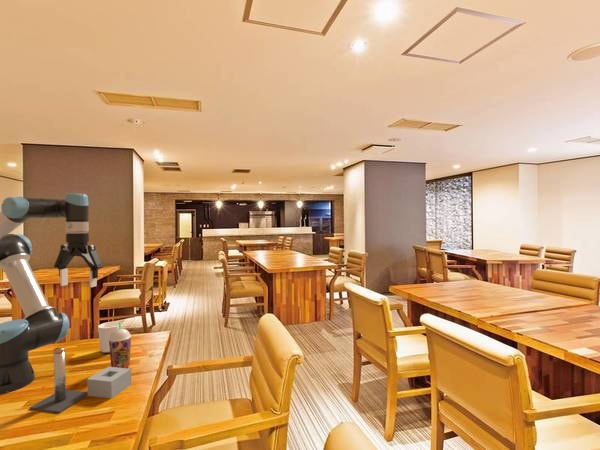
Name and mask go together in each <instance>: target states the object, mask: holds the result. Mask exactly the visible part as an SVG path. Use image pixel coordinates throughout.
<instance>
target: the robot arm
mask: <svg viewBox="0 0 600 450" xmlns="http://www.w3.org/2000/svg"><path fill="white" fill-rule="evenodd" d="M89 205H90V203H89V197H88V195H87V193H86V194H85V193H77V192H75V193H70V192H69V193H66V194H65V198H41V197H40V198H39V197H22V196H14V197H13V196H12V197H11V196H9V197H5V198H4V200H3V201H2V203H1V205H0V206H1V207H0V209H1V211H0V270H3V271H4V273H5V275H6V278H7V280H8V283H9V284H10V286H11V288H12V291H13V293H14V295H15V297H16V299H17V301H18V304H19V306H20V307H21V310H22V311H23V314H24V318H20V319H19V318H18V319H14V320H9V321H4V322H2V323H0V395H1V394H5V393H9V392H14V391H16V390H19V389H21V388H24V387H26V386H28V385H30V384H31V383H32V382H34V380H35V379H36V378H35V376H36V375H35V373H36V372H35V371H34V369H33V367H32V364H31V362H30V361H29V352H31V351H33V350H36V349H39V348H42V347H45V346H48V345H51V344H55V343H56V342H57V343H58V342H60V341H62V340H64V339H65V338H66V337H67V335H68V333H69V329H70V320H69V317H68V315H67V314H66V313H64V312H61V311H60V312H59V311H57V308H56V307H55V306H51V305H50V304H49V302H48V300H47V298H46V295H45V294H44V292H43V290H42V288H41V286H40V283H39V282H38V280H37V278H36V275H35V273H34V272H33V269H32V267H31V265H30V263H29V261H30V259H31V256H32V254H33V245H32V241H31V240H30V239H29V238H28V237H27V236H25V235H24V234H20V233H18V234H17V233H16V234H15V233H12V232H13V231H14V230H16V229H17V228H19V226H21V225H22V224H24V223H25V222H26V221H28V220H29V219H39V218H40V219H41V218H43V219H44V218H45V219H48V218H52V219H60V218H61V219H63V218H65V232H66V234H65V242H66V243H67V244H66V243H65V244H61V245H60V249H59V253H58V256H57V257H56V260H55V263H54V265H53V266H54V269H55V268H57V269H58V277H59V280H60V281H59V283H60V287H64V286H68V285H69V275H68V274H69V270H68V269H69V268H68V266H69V264H70V262H71V261H72V260H73V258H74V257H80V258H82V259H83V260H84V262H85V263H86V265H87V266H88V267H89V271H88V272H89V273H88V275H89V276H88V277H89V288H94V287H97V285H98V284H97V283H98V281H97V278H99V269H103V268H104V266H103V264H102V262H101V259H100V257H99V255H98V253H97V251H96V245H95V244H90V245H89V244H88V243H89V242H90V234H89V233H88V232H89V231H90V225H89V219H90V217H89Z"/></svg>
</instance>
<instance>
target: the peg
mask: <svg viewBox="0 0 600 450" xmlns="http://www.w3.org/2000/svg"><path fill="white" fill-rule="evenodd" d="M66 381H67V380H66V348H65V346H59V347H55V348H54V349H53V386H54V387H53V388H54V389H53V391H54V393H53V394H55V402H62V401H64V400H65V399H66V390H67V385H66V383H67V382H66Z"/></svg>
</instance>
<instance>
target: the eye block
mask: <svg viewBox="0 0 600 450" xmlns="http://www.w3.org/2000/svg"><path fill="white" fill-rule="evenodd" d="M86 381H87V382H86V383H87V384H86V385H87V386H86V387H87V388H86V389H87V391H86V392H87V394H88V396H89V397H95V398H97V397H98V398H106V399H113V398H115V397H116V396H117V395H119V394H120V393H121V392H123V391H124V390H125V389H127V388H129V386H132V368H128V369H127V368H117V367H111V366H107V367H105V368H104V369H102V370H100V371H98V372H97V373H95V374H94V375H92V376H90V377H88V378H87V379H86Z"/></svg>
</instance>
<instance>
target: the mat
mask: <svg viewBox="0 0 600 450" xmlns="http://www.w3.org/2000/svg"><path fill="white" fill-rule="evenodd" d="M87 396H88V394H87V391H81V390H71V389H66V399H65V400H64V401H62V402H55V394H54V393H53V394H51V395H49V396H47V397H45V398H44V399H42V400H40V401H38V402H36V403H35V404H33V405H31V406H29V410H33V411H41V412H46V413H47V412H48V413H55V414H61V413H62V412H64V411H66V410H67V409H68V408H71V406H73V405H75V404H77V403H78V402H80V401H81V400H83V399H84V398H86V397H87Z"/></svg>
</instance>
